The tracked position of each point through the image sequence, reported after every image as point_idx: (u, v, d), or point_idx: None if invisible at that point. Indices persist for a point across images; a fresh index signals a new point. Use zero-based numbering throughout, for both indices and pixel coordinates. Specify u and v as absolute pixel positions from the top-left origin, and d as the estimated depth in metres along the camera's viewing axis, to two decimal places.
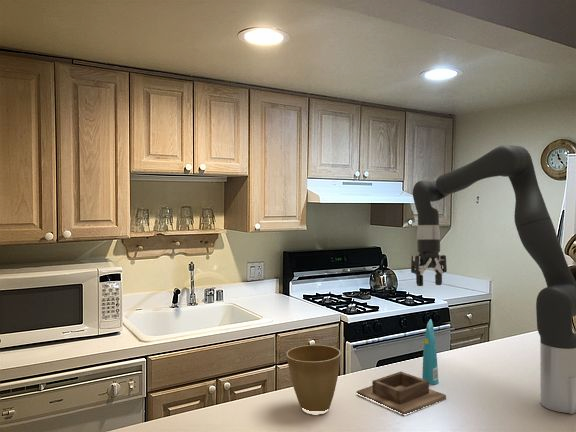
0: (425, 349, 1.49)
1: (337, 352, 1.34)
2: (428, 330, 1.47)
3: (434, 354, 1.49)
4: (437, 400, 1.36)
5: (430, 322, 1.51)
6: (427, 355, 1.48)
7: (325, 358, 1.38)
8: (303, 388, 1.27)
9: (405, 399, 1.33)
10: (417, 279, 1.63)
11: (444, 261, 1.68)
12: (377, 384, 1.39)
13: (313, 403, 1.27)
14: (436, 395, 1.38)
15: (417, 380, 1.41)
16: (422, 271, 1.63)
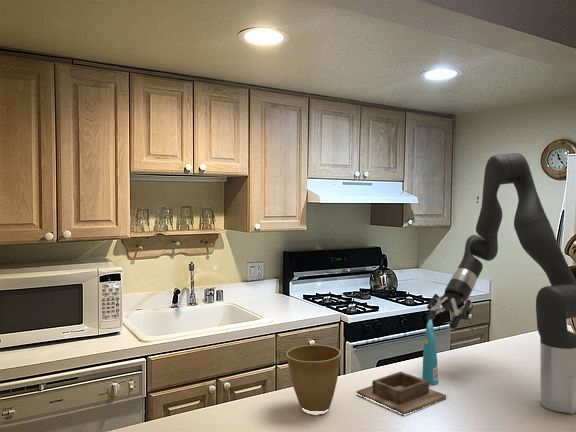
0: (425, 349, 1.49)
1: (337, 352, 1.34)
2: (428, 330, 1.47)
3: (434, 354, 1.49)
4: (437, 400, 1.36)
5: (430, 322, 1.51)
6: (427, 355, 1.48)
7: (325, 358, 1.38)
8: (303, 388, 1.27)
9: (405, 399, 1.33)
10: None
11: (466, 305, 1.51)
12: (377, 384, 1.39)
13: (313, 403, 1.27)
14: (436, 395, 1.38)
15: (417, 380, 1.41)
16: (434, 307, 1.58)
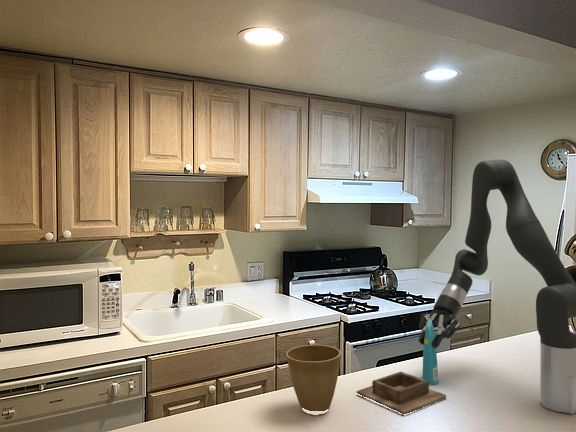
0: (425, 349, 1.49)
1: (337, 352, 1.34)
2: (428, 330, 1.47)
3: (434, 354, 1.49)
4: (437, 400, 1.36)
5: (430, 322, 1.51)
6: (427, 355, 1.48)
7: (325, 358, 1.38)
8: (303, 388, 1.27)
9: (405, 399, 1.33)
10: None
11: (451, 324, 1.48)
12: (377, 384, 1.39)
13: (313, 403, 1.27)
14: (436, 395, 1.38)
15: (417, 380, 1.41)
16: None
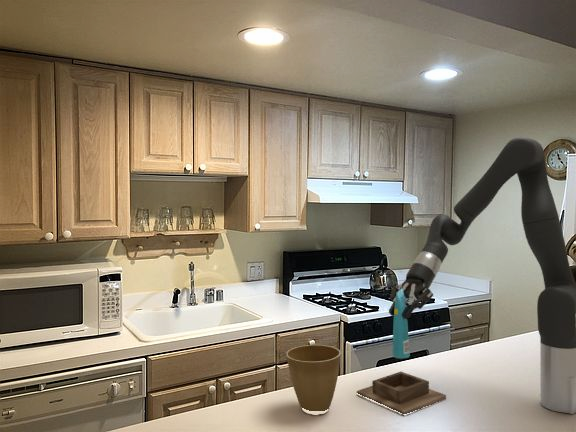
0: (395, 320, 1.38)
1: (337, 352, 1.34)
2: (398, 299, 1.36)
3: (405, 326, 1.38)
4: (437, 400, 1.36)
5: (401, 292, 1.40)
6: (397, 326, 1.37)
7: (325, 358, 1.38)
8: (303, 388, 1.27)
9: (405, 399, 1.33)
10: None
11: (423, 293, 1.37)
12: (377, 384, 1.39)
13: (313, 403, 1.27)
14: (436, 395, 1.38)
15: (417, 380, 1.41)
16: None
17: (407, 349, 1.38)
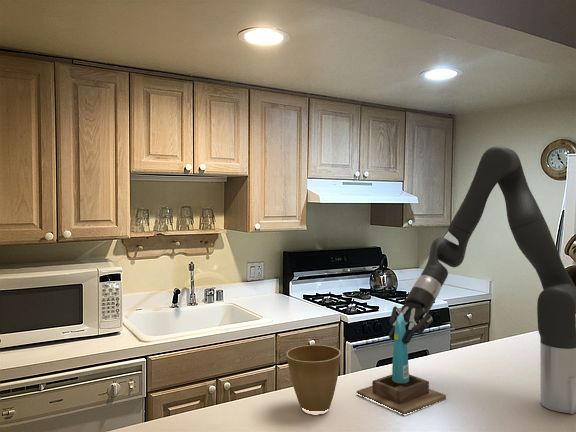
0: (395, 345, 1.38)
1: (337, 352, 1.34)
2: (398, 325, 1.36)
3: (404, 351, 1.38)
4: (437, 400, 1.36)
5: (401, 316, 1.40)
6: (396, 351, 1.37)
7: (325, 358, 1.38)
8: (303, 388, 1.27)
9: (405, 399, 1.33)
10: None
11: (423, 319, 1.37)
12: (377, 384, 1.39)
13: (313, 403, 1.27)
14: (436, 395, 1.38)
15: (417, 380, 1.41)
16: None
17: (407, 374, 1.38)
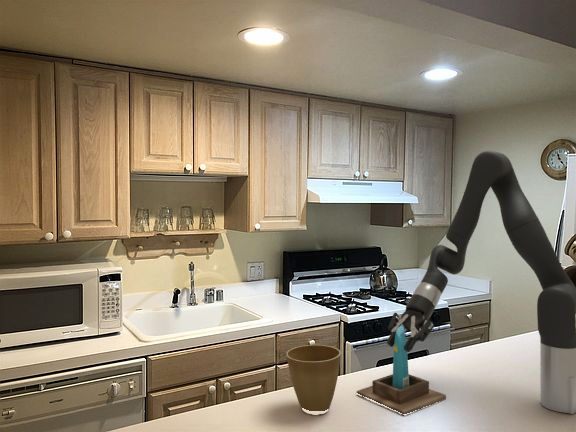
0: (394, 357, 1.38)
1: (337, 352, 1.34)
2: (397, 337, 1.36)
3: (404, 363, 1.38)
4: (437, 400, 1.36)
5: (401, 328, 1.40)
6: (396, 363, 1.37)
7: (325, 358, 1.38)
8: (303, 388, 1.27)
9: (405, 399, 1.33)
10: None
11: (424, 326, 1.37)
12: (377, 384, 1.39)
13: (313, 403, 1.27)
14: (436, 395, 1.38)
15: (417, 380, 1.41)
16: (395, 328, 1.43)
17: (407, 386, 1.38)
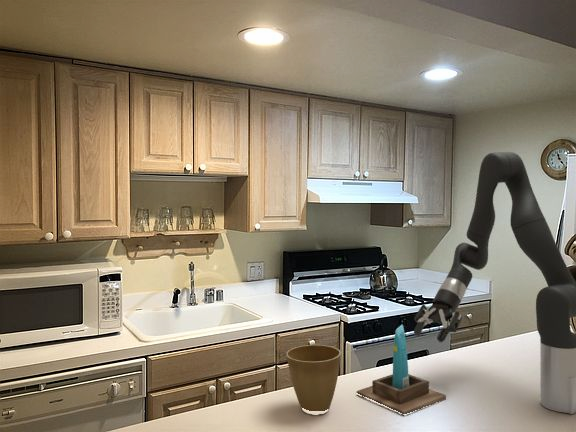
0: (394, 357, 1.38)
1: (337, 352, 1.34)
2: (397, 337, 1.37)
3: (404, 362, 1.38)
4: (437, 400, 1.36)
5: (400, 328, 1.41)
6: (396, 363, 1.38)
7: (325, 358, 1.38)
8: (303, 388, 1.27)
9: (405, 399, 1.33)
10: None
11: (454, 317, 1.44)
12: (377, 384, 1.39)
13: (313, 403, 1.27)
14: (436, 395, 1.38)
15: (417, 380, 1.41)
16: (421, 319, 1.52)
17: (407, 386, 1.38)
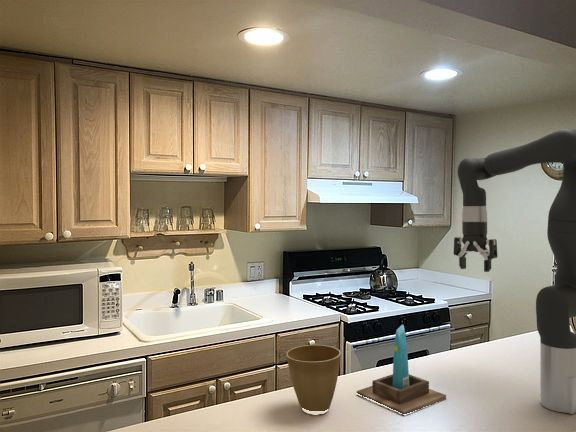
0: (395, 357, 1.38)
1: (337, 352, 1.34)
2: (397, 337, 1.37)
3: (404, 362, 1.38)
4: (437, 400, 1.36)
5: (401, 328, 1.41)
6: (396, 363, 1.38)
7: (325, 358, 1.38)
8: (303, 388, 1.27)
9: (405, 399, 1.33)
10: None
11: (490, 246, 1.50)
12: (377, 384, 1.39)
13: (313, 403, 1.27)
14: (436, 395, 1.38)
15: (417, 380, 1.41)
16: (461, 254, 1.58)
17: (407, 386, 1.38)
